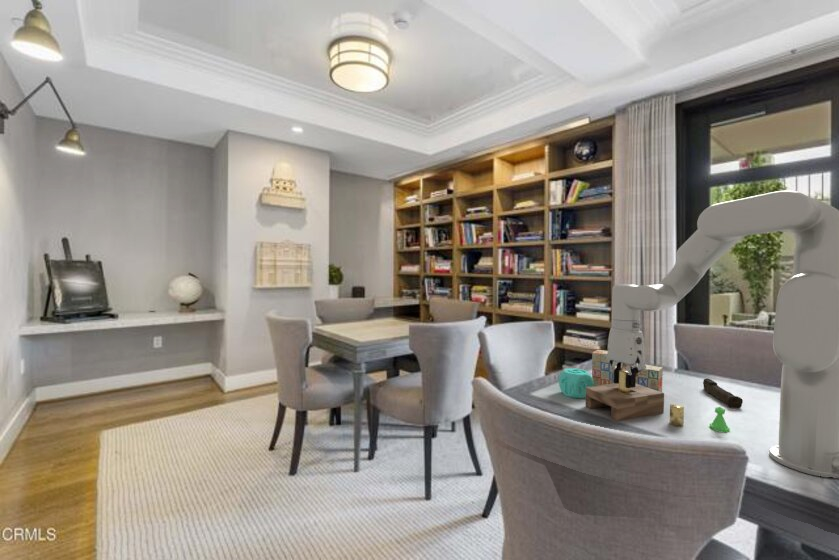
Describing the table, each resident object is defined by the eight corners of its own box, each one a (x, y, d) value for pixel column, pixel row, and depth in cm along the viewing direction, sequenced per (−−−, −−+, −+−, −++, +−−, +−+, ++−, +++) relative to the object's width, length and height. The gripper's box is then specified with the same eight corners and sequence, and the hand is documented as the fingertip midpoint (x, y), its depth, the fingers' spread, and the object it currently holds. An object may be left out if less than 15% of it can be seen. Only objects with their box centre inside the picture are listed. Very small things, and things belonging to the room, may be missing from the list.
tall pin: (632, 411, 116) (633, 372, 116) (624, 412, 115) (625, 373, 115) (623, 407, 119) (624, 369, 119) (615, 408, 118) (616, 370, 118)
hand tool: (743, 410, 118) (743, 395, 117) (727, 408, 119) (728, 393, 118) (713, 390, 136) (713, 377, 136) (700, 389, 137) (700, 376, 137)
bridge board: (663, 412, 115) (664, 393, 114) (616, 421, 109) (617, 400, 109) (629, 399, 126) (630, 381, 126) (585, 406, 120) (585, 387, 120)
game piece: (707, 428, 104) (708, 406, 104) (710, 424, 107) (711, 402, 107) (728, 433, 101) (729, 411, 100) (730, 428, 104) (731, 406, 103)
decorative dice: (558, 392, 134) (558, 369, 133) (576, 389, 136) (576, 367, 136) (575, 399, 126) (575, 375, 126) (594, 396, 129) (594, 373, 129)
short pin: (686, 425, 106) (686, 407, 106) (677, 427, 105) (678, 409, 105) (675, 421, 109) (675, 403, 109) (666, 422, 108) (667, 405, 108)
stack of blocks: (662, 394, 132) (663, 358, 131) (658, 398, 127) (659, 361, 127) (597, 381, 146) (598, 348, 146) (591, 384, 142) (591, 351, 141)
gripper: (660, 328, 110) (658, 392, 110) (613, 320, 125) (612, 376, 126) (640, 330, 107) (638, 395, 108) (594, 322, 123) (593, 378, 124)
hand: (624, 384), depth 117 cm, fingers open, 3 cm apart
